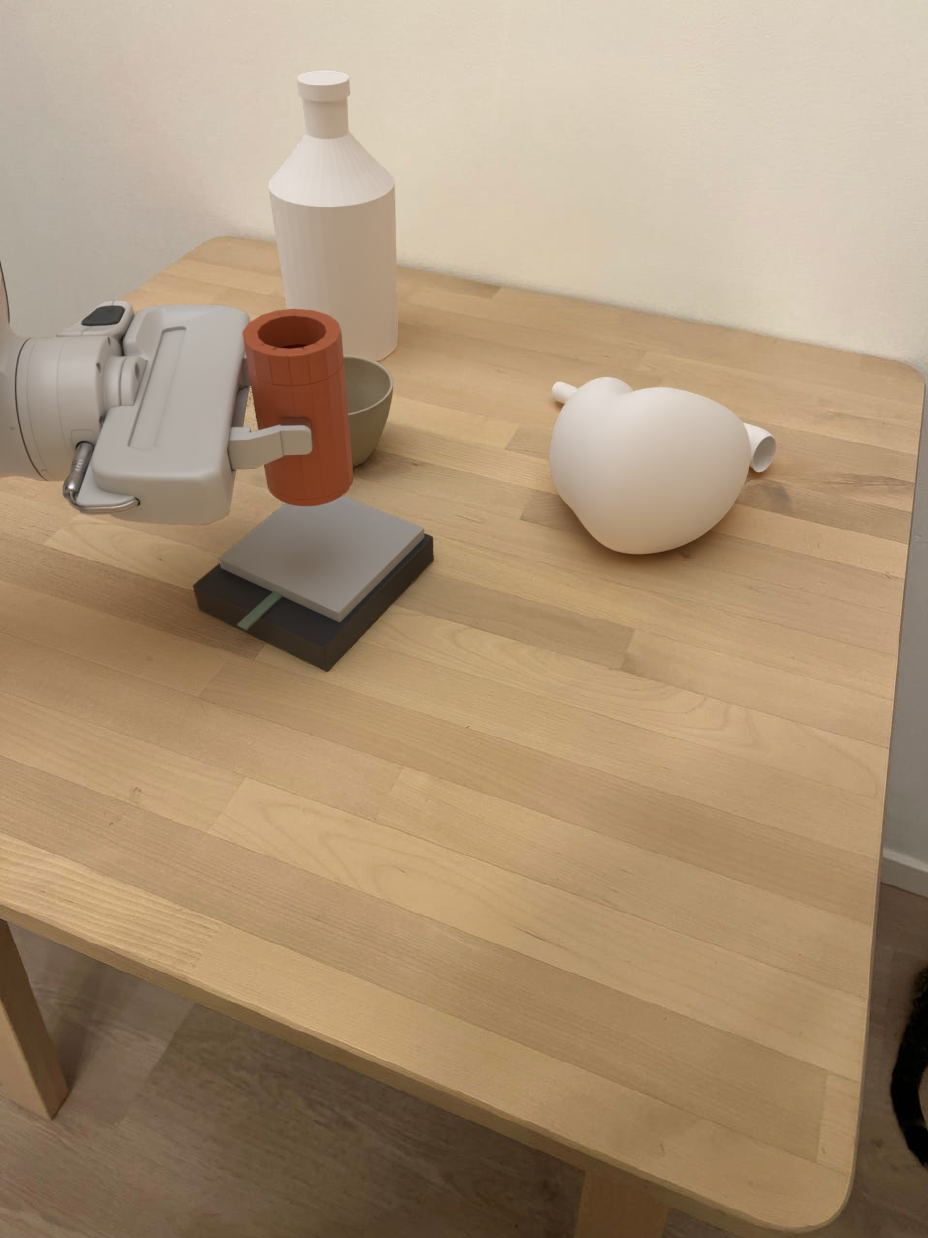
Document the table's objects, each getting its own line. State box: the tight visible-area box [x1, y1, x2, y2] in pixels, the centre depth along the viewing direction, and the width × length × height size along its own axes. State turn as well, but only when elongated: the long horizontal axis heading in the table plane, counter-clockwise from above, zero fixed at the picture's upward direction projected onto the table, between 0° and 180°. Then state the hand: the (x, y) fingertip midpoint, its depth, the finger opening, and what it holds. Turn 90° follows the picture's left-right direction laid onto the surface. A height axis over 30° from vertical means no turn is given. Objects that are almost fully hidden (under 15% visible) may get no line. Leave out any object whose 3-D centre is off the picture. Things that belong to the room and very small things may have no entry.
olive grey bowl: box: [343, 355, 394, 468], centre depth 82 cm, size 10×10×7 cm
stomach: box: [548, 376, 777, 555], centre depth 80 cm, size 23×13×24 cm
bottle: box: [267, 69, 399, 363], centre depth 90 cm, size 12×12×25 cm
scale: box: [192, 495, 434, 672], centre depth 70 cm, size 12×16×4 cm
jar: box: [242, 308, 354, 506], centre depth 60 cm, size 6×6×11 cm
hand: (314, 402), depth 60 cm, fingers closed on jar, 6 cm apart
